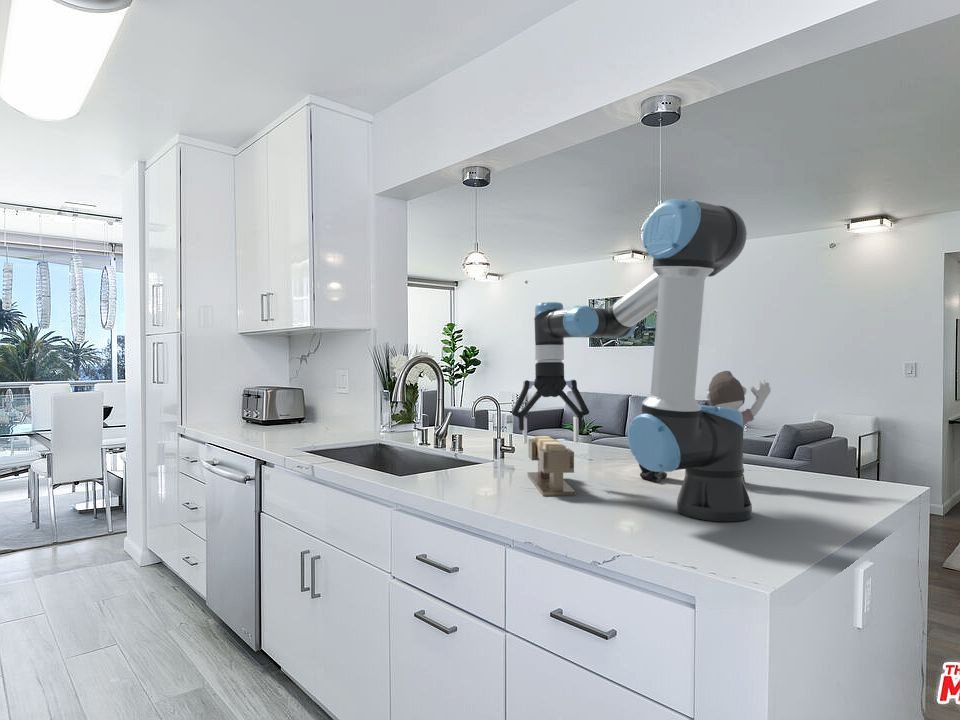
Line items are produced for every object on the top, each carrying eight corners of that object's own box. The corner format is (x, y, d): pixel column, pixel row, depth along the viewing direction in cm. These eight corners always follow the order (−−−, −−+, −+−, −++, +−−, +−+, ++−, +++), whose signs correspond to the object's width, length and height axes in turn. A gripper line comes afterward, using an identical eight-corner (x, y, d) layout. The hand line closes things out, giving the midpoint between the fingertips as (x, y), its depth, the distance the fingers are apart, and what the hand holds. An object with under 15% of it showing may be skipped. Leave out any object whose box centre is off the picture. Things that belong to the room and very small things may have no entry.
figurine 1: (667, 484, 160) (667, 427, 160) (630, 480, 166) (630, 425, 166) (676, 478, 169) (676, 424, 168) (641, 474, 174) (642, 422, 174)
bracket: (575, 495, 148) (575, 452, 148) (542, 496, 147) (542, 452, 147) (555, 475, 173) (555, 438, 173) (527, 475, 172) (527, 438, 172)
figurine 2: (764, 479, 166) (764, 370, 166) (777, 487, 157) (777, 371, 157) (695, 478, 168) (695, 370, 168) (704, 485, 159) (704, 371, 159)
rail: (565, 466, 151) (565, 446, 151) (550, 467, 150) (550, 446, 150) (548, 453, 171) (548, 436, 171) (534, 454, 170) (534, 436, 170)
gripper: (592, 361, 164) (593, 439, 164) (500, 362, 163) (501, 441, 162) (600, 360, 157) (601, 443, 157) (504, 361, 155) (505, 445, 155)
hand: (550, 442), depth 160 cm, fingers open, 13 cm apart
